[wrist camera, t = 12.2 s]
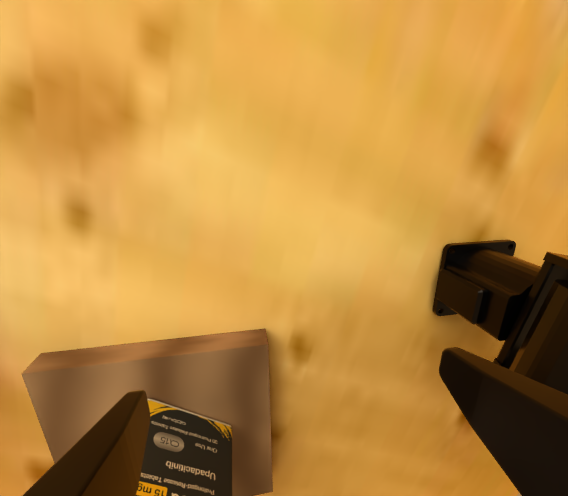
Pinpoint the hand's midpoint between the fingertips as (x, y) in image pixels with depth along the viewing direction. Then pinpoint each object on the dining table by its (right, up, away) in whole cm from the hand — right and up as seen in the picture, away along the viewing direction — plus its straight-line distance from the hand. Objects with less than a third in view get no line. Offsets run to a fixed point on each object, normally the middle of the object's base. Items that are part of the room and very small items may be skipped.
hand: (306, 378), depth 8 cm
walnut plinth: (-10, -11, +16) cm, 21 cm away
